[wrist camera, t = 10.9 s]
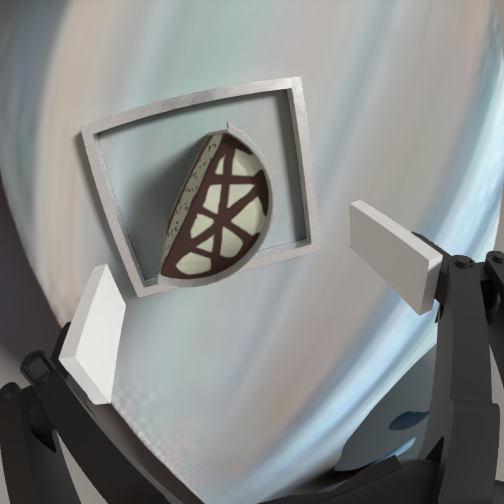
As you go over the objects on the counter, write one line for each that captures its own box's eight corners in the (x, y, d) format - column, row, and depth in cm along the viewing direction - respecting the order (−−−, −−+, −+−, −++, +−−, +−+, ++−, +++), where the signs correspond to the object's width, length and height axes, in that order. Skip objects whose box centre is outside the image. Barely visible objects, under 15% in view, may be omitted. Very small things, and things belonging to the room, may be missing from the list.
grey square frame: (85, 126, 23) (80, 127, 22) (294, 78, 25) (300, 76, 24) (139, 290, 32) (138, 297, 30) (315, 244, 34) (320, 250, 33)
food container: (216, 255, 32) (231, 313, 23) (161, 234, 30) (154, 289, 21) (272, 147, 28) (314, 166, 19) (215, 118, 26) (232, 122, 17)
